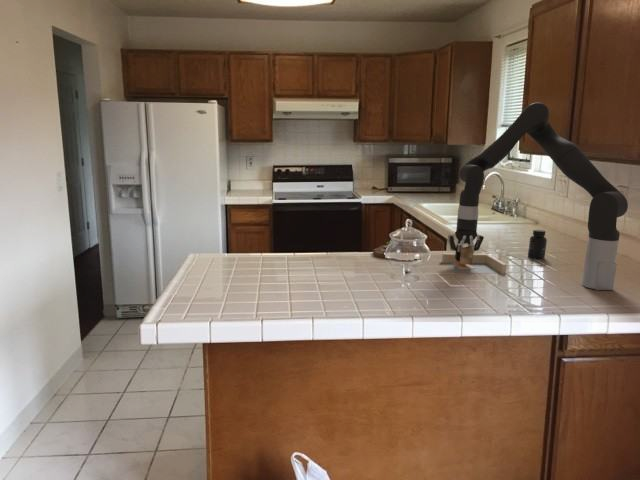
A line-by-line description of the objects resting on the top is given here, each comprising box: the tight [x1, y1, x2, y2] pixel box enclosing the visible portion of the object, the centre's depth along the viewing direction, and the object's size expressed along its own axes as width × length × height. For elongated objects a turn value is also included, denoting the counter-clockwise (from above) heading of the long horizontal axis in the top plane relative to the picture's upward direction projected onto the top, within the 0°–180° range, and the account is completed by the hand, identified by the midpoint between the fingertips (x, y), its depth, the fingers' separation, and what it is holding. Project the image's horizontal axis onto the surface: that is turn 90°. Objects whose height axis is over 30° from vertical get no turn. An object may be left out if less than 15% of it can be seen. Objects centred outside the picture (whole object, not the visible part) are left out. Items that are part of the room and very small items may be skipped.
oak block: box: [458, 244, 474, 264], centre depth 202 cm, size 4×7×6 cm, turn 5°
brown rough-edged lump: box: [372, 228, 402, 259], centre depth 220 cm, size 20×20×11 cm
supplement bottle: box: [527, 229, 548, 260], centre depth 223 cm, size 7×7×12 cm
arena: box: [440, 252, 508, 275], centre depth 202 cm, size 18×19×4 cm
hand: (463, 260), depth 203 cm, fingers closed on oak block, 4 cm apart
